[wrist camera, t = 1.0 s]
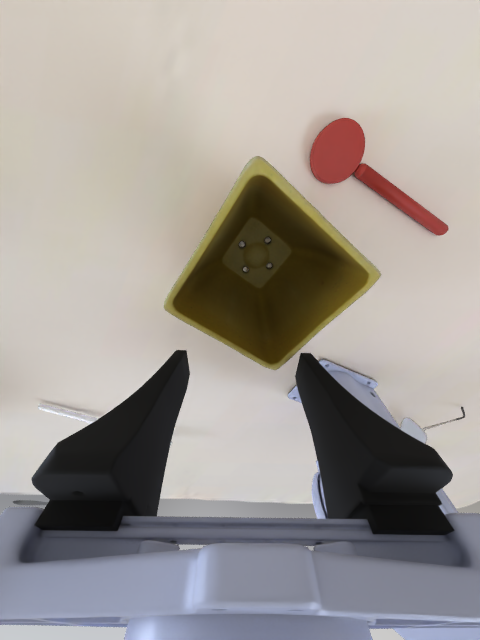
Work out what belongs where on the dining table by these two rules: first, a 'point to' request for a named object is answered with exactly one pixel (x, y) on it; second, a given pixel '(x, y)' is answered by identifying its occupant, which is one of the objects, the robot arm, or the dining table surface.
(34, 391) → the dining table surface
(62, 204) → the dining table surface
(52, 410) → the white fork
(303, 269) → the flower pot
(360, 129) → the red spoon
